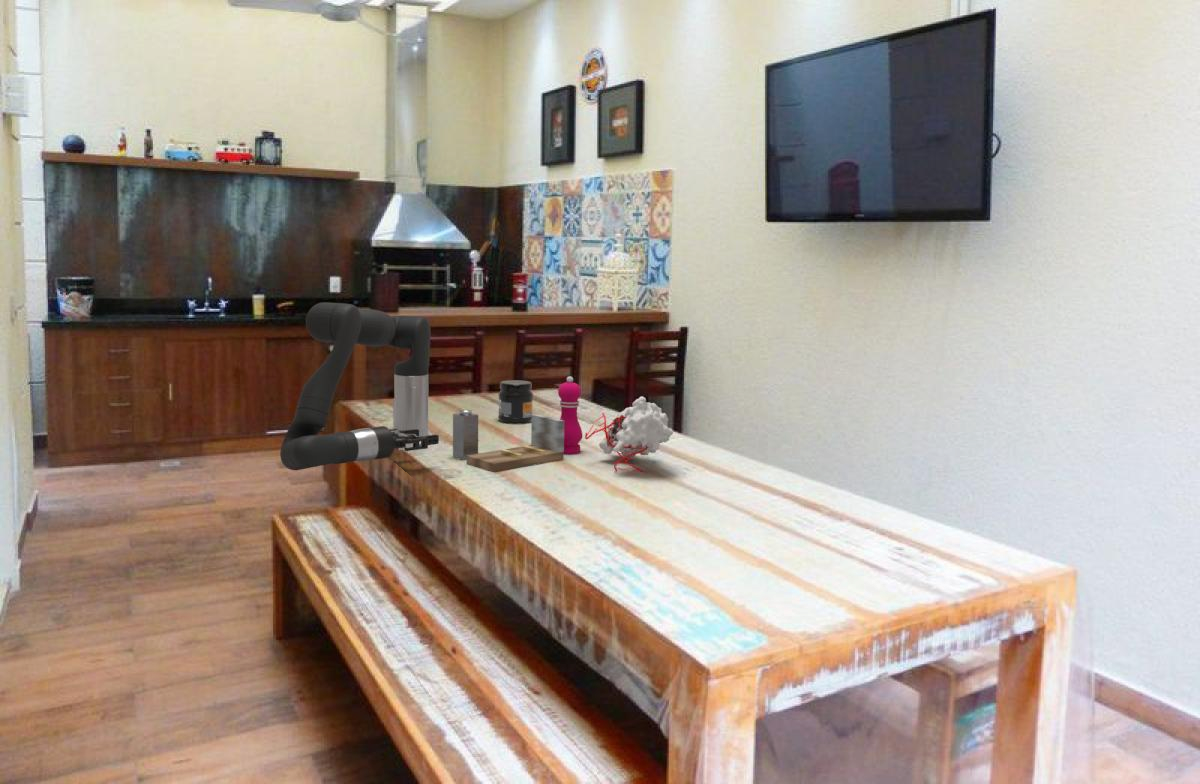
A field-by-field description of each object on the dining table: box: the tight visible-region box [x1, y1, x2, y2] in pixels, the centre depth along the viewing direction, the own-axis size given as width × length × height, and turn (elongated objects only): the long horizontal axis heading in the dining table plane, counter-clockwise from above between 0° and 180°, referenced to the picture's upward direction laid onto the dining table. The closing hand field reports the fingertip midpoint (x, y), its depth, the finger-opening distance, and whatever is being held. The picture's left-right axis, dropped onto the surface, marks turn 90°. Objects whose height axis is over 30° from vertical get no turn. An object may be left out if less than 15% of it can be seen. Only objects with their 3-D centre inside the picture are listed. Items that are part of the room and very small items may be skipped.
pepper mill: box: [557, 376, 583, 455], centre depth 244 cm, size 7×7×20 cm
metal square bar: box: [452, 408, 479, 461], centre depth 235 cm, size 4×4×12 cm
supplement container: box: [497, 379, 534, 424], centre depth 286 cm, size 10×10×12 cm
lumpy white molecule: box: [584, 396, 674, 473], centre depth 229 cm, size 20×18×25 cm
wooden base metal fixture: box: [466, 413, 565, 473], centre depth 232 cm, size 11×22×10 cm, turn 134°
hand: (427, 436), depth 228 cm, fingers open, 8 cm apart
